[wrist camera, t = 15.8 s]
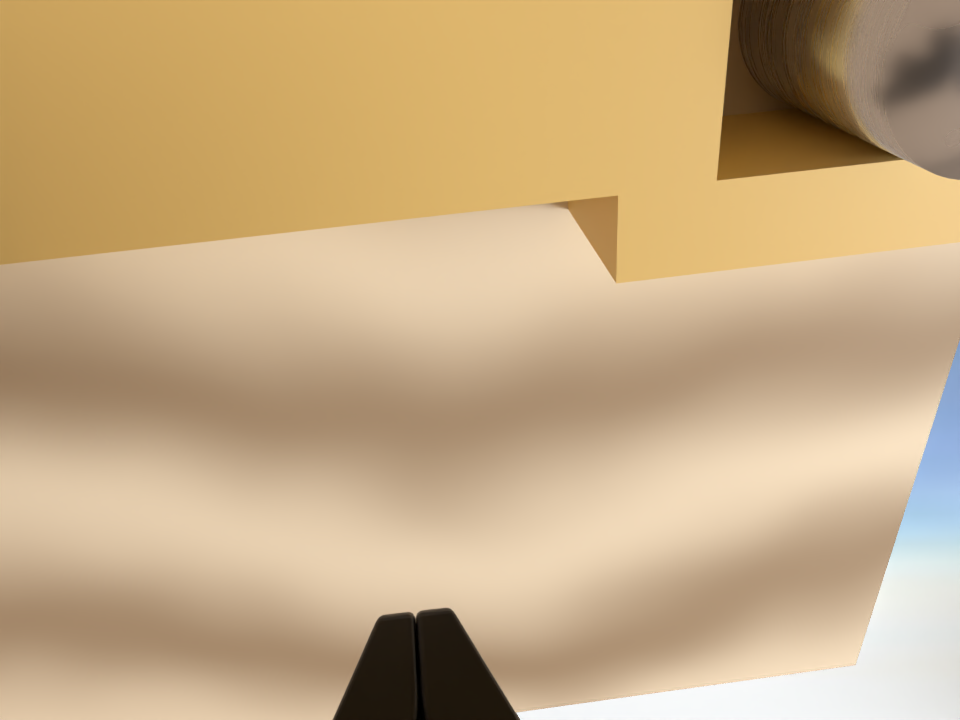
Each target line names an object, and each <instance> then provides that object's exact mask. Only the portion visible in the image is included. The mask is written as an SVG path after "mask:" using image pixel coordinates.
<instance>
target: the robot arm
mask: <svg viewBox="0 0 960 720" xmlns="http://www.w3.org/2000/svg"><path fill="white" fill-rule="evenodd" d="M333 720H520V719H519V717H518V715H517V714H516V712H515V710H514V709H513V707H512V706H511V704H510V702H509V701H508V699H507V697H506V696H505V694H504V692H503V691H502V689H501V687H500V686H499V684H498V683H497V681H496V679H495V678H494V676H493V674H492V673H491V671H490V669H489V668H488V666H487V665H486V663H485V661H484V660H483V658H482V656H481V655H480V653H479V651H478V650H477V648H476V647H475V645H474V643H473V642H472V640H471V638H470V637H469V635H468V633H467V632H466V630H465V628H464V627H463V625H462V624H461V622H460V620H459V619H458V617H457V615H456V614H455V612H454V611H453V610H452V609H450V608H438V609H429V610H422V611H419V612H418V613H417V615H416V618H415V616H414V614H413V613H411V612H403V613H394V614H385V615H382V616H380V617H379V618H378V619H377V621H376V622H375V624H374V627H373V629H372V631H371V633H370V636H369V638H368V640H367V643H366V645H365V647H364V649H363V652H362V654H361V656H360V658H359V661H358V663H357V665H356V668H355V670H354V672H353V674H352V677H351V679H350V681H349V683H348V686H347V688H346V690H345V693H344V695H343V697H342V699H341V702H340V704H339V706H338V709H337V711H336V713H335V715H334V718H333Z"/></svg>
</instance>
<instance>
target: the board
mask: <svg viewBox="0 0 960 720" xmlns="http://www.w3.org/2000/svg"><path fill="white" fill-rule="evenodd" d="M740 1H741V0H733V5H732V16H731V27H730V38H729V49H728V60H727V71H726V82H725V93H724V104H723V116H728V115H738V114H747V113H756V112H766V111H775V110H785V109H794V107H792V106H790V105H788V104H786V103H784V102H781V101H779V100H777V99H775V98H773V97H772V96H770V95H769V94H768V93H766V92H765V91H763V90H762V89H761V88H760V87H759V85H758V84H757V83H756V82H755V81H754V79H753V78H752V77H751V75H750V74H749V72H748V70H747V68H746V66H745V64H744V61H743V58H742V55H741V51H740V46H739V41H738V13H739V7H740ZM959 340H960V242H958V243H949V244H941V245H933V246H924V247H916V248H908V249H899V250H891V251H883V252H874V253H866V254H858V255H850V256H841V257H833V258H825V259H816V260H808V261H800V262H791V263H783V264H775V265H766V266H758V267H750V268H741V269H733V270H725V271H716V272H708V273H700V274H691V275H683V276H675V277H667V278H658V279H650V280H642V281H633V282H625V283H617V284H616V282H615V281H614V279H613V278H612V276H611V275H610V273H609V272H608V270H607V269H606V267H605V266H604V264H603V262H602V261H601V259H600V258H599V256H598V255H597V253H596V252H595V250H594V249H593V247H592V245H591V244H590V242H589V241H588V239H587V238H586V236H585V235H584V233H583V232H582V230H581V229H580V227H579V225H578V224H577V222H576V221H575V219H574V218H573V216H572V215H571V213H570V212H569V210H568V201H564V202H555V203H546V204H538V205H529V206H520V207H511V208H502V209H493V210H484V211H475V212H466V213H457V214H449V215H440V216H431V217H422V218H413V219H404V220H395V221H386V222H377V223H368V224H360V225H351V226H342V227H333V228H324V229H315V230H306V231H297V232H288V233H279V234H271V235H262V236H253V237H244V238H235V239H226V240H217V241H208V242H199V243H190V244H182V245H173V246H164V247H155V248H146V249H137V250H128V251H119V252H110V253H102V254H93V255H84V256H75V257H66V258H57V259H48V260H39V261H30V262H21V263H13V264H4V265H0V720H333V718H334V715H335V713H336V711H337V709H338V706H339V704H340V702H341V699H342V697H343V695H344V693H345V690H346V688H347V686H348V683H349V681H350V679H351V677H352V674H353V672H354V670H355V668H356V665H357V663H358V661H359V658H360V656H361V654H362V652H363V649H364V647H365V645H366V643H367V640H368V638H369V636H370V633H371V631H372V629H373V627H374V624H375V622H376V621H377V619H378V618H379V617H380V616H382V615H385V614H394V613H403V612H411V613H413V614H414V616H415V618H416V615H417V613H418V612H419V611H422V610H429V609H438V608H450V609H452V610H453V611H454V612H455V614H456V615H457V617H458V619H459V620H460V622H461V624H462V625H463V627H464V628H465V630H466V632H467V633H468V635H469V637H470V638H471V640H472V642H473V643H474V645H475V647H476V648H477V650H478V651H479V653H480V655H481V656H482V658H483V660H484V661H485V663H486V665H487V666H488V668H489V669H490V671H491V673H492V674H493V676H494V678H495V679H496V681H497V683H498V684H499V686H500V687H501V689H502V691H503V692H504V694H505V696H506V697H507V699H508V701H509V702H510V704H511V706H512V707H513V709H514V710H515V712H522V711H529V710H536V709H544V708H551V707H558V706H565V705H572V704H579V703H587V702H594V701H601V700H608V699H615V698H623V697H630V696H637V695H644V694H651V693H658V692H666V691H673V690H680V689H687V688H694V687H701V686H709V685H716V684H723V683H730V682H737V681H744V680H752V679H759V678H766V677H773V676H780V675H788V674H795V673H802V672H809V671H816V670H823V669H831V668H838V667H845V666H852V665H856V661H857V658H858V655H859V652H860V649H861V646H862V643H863V640H864V636H865V633H866V630H867V627H868V624H869V621H870V618H871V615H872V611H873V608H874V605H875V602H876V599H877V596H878V593H879V590H880V586H881V583H882V580H883V577H884V574H885V571H886V568H887V565H888V562H889V558H890V555H891V552H892V549H893V546H894V543H895V540H896V537H897V533H898V530H899V527H900V524H901V521H902V518H903V515H904V512H905V508H906V505H907V502H908V499H909V496H910V493H911V490H912V487H913V483H914V480H915V477H916V474H917V471H918V468H919V465H920V462H921V458H922V455H923V452H924V449H925V446H926V443H927V440H928V437H929V433H930V430H931V427H932V424H933V421H934V418H935V415H936V412H937V409H938V405H939V402H940V399H941V396H942V393H943V390H944V387H945V384H946V380H947V377H948V374H949V371H950V368H951V365H952V362H953V359H954V355H955V352H956V349H957V346H958V343H959Z"/></svg>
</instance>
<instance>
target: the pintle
mask: <svg viewBox="0 0 960 720" xmlns="http://www.w3.org/2000/svg"><path fill="white" fill-rule="evenodd" d="M738 41H739V46H740V51H741V55H742V58H743V61H744V64H745V66H746V68H747V70H748V72H749V74H750V75H751V77H752V78H753V79H754V81H755V82H756V83H757V84H758V85H759V87H760V88H761V89H762V90H763V91H765V92H766V93H768V94H769V95H770V96H772V97H773V98H775V99H777V100H779V101H781V102H784V103H786V104H788V105H790V106H792V107H794V108H796V109H798V110H800V111H803V112H805V113H807V114H809V115H811V116H813V117H815V118H817V119H819V120H822V121H824V122H826V123H828V124H830V125H832V126H834V127H836V128H838V129H841V130H843V131H845V132H847V133H849V134H851V135H853V136H855V137H857V138H859V139H862V140H864V141H866V142H868V143H870V144H872V145H874V146H876V147H878V148H881V149H883V150H885V151H887V152H889V153H891V154H893V155H895V156H897V157H900V158H902V159H904V160H906V161H908V162H910V163H912V164H914V165H916V166H919V167H921V168H923V169H925V170H927V171H929V172H931V173H933V174H935V175H938V176H942V177H945V178H949V179H956V180H960V0H741V1H740V7H739V13H738Z"/></svg>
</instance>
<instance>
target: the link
mask: <svg viewBox="0 0 960 720" xmlns="http://www.w3.org/2000/svg"><path fill="white" fill-rule="evenodd" d="M732 5H733V0H0V265H4V264H13V263H21V262H30V261H39V260H48V259H57V258H66V257H75V256H84V255H93V254H102V253H110V252H119V251H128V250H137V249H146V248H155V247H164V246H173V245H182V244H190V243H199V242H208V241H217V240H226V239H235V238H244V237H253V236H262V235H271V234H279V233H288V232H297V231H306V230H315V229H324V228H333V227H342V226H351V225H360V224H368V223H377V222H386V221H395V220H404V219H413V218H422V217H431V216H440V215H449V214H457V213H466V212H475V211H484V210H493V209H502V208H511V207H520V206H529V205H538V204H546V203H555V202H564V201H568V210H569V212H570V213H571V215H572V216H573V218H574V219H575V221H576V222H577V224H578V225H579V227H580V229H581V230H582V232H583V233H584V235H585V236H586V238H587V239H588V241H589V242H590V244H591V245H592V247H593V249H594V250H595V252H596V253H597V255H598V256H599V258H600V259H601V261H602V262H603V264H604V266H605V267H606V269H607V270H608V272H609V273H610V275H611V276H612V278H613V279H614V281H615V282H616V284H617V283H625V282H633V281H642V280H650V279H658V278H667V277H675V276H683V275H691V274H700V273H708V272H716V271H725V270H733V269H741V268H750V267H758V266H766V265H775V264H783V263H791V262H800V261H808V260H816V259H825V258H833V257H841V256H850V255H858V254H866V253H874V252H883V251H891V250H899V249H908V248H916V247H924V246H933V245H941V244H949V243H958V242H960V180H956V179H949V178H945V177H942V176H938V175H935V174H933V173H931V172H929V171H927V170H925V169H923V168H921V167H919V166H916V165H914V164H912V163H910V162H908V161H906V160H904V159H902V158H900V157H897V156H895V155H893V154H891V153H889V152H887V151H885V150H883V149H881V148H878V147H876V146H874V145H872V144H870V143H868V142H866V141H864V140H862V139H859V138H857V137H855V136H853V135H851V134H849V133H847V132H845V131H843V130H841V129H838V128H836V127H834V126H832V125H830V124H828V123H826V122H824V121H822V120H819V119H817V118H815V117H813V116H811V115H809V114H807V113H805V112H803V111H800V110H798V109H796V108H794V109H785V110H775V111H766V112H756V113H747V114H738V115H728V116H723V104H724V93H725V82H726V71H727V60H728V49H729V38H730V27H731V16H732Z"/></svg>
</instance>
